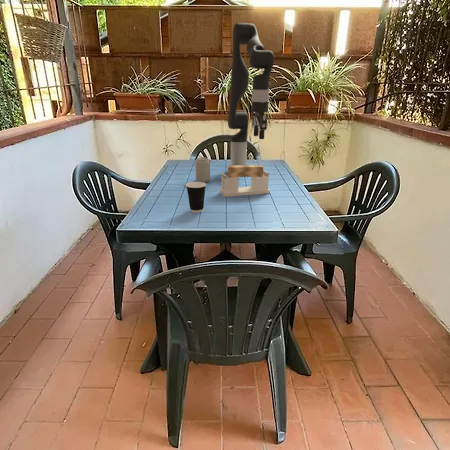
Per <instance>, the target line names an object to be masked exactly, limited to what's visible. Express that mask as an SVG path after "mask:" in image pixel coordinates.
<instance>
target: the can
mask: <svg viewBox="0 0 450 450" xmlns="http://www.w3.org/2000/svg"><path fill="white" fill-rule="evenodd" d="M194 164H195V180H196V182H203V183H208V182H210V180H211V162H210V160H209V158H208V157H197V158H196V160H195V163H194Z"/></svg>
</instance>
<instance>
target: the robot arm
mask: <svg viewBox="0 0 450 450" xmlns="http://www.w3.org/2000/svg"><path fill="white" fill-rule="evenodd" d="M241 45H246V51H247V54H248V56H249V66H250V67H251V68H253V69H255V70H256V69H257V70H259V69H261V70H263V71H262V72H261V73H259V74H255V75H254V76H253V77H252V92H251V112H252V122H251V123H252V124H251V126H252V127H253V136H254V137H258V139H259V140H264V139H265V131H266V130H267V129H268V125H267V124H268V116H267V115H265V113H268V111H269V101H270V100H269V99H270V94H269V93H270V91H269V86H270V78H271V77H270V76H271V74H272V73H271V72H272V69H273V66H274V63H275V55H274V52H273V51H272V50H266V49H265V47H264V45H263V44H262V42H261V40H260V37H259V33H258V30H257V27H256V25H255V24H254V23H251V22H249V23H247V22H236V23H234V25H233V29H232V61H231V63H232V64H231V73H230V74H231V76H230V93H229V94H230V97H229V98H230V99H229V107H228V116H227V125H228V128H229V129H230V130H239V131H238V132H237V133H235V134H233V135H231V136H230V166H234V165H247V162H248V161H247V159H248V157H247V155H248V151H247V150H248V149H247V148H248V131H249V130H248V129H249V114H248V112H246V111H237V108H238V105H239V102H240V101H241V99H242V98H243V96H244V95H245V94H246V92H247V91H248V88H249V79H250V72H249V69H248V67H247V64H246V63H245V61H244V58H243V56H242V53H241Z"/></svg>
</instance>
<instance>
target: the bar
mask: <svg viewBox="0 0 450 450" xmlns="http://www.w3.org/2000/svg"><path fill="white" fill-rule="evenodd" d="M263 170H264V166H263V165H262V164H250V165H249V164H248V165H234V166H231V165H227V175H228V177H238V178H251V177H263Z"/></svg>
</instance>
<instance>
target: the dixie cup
mask: <svg viewBox="0 0 450 450" xmlns="http://www.w3.org/2000/svg"><path fill="white" fill-rule="evenodd" d="M185 186H186V190H187V191H186V192H187V197H188V203H189V210H190V211H191V212H192V213H194V214H195V213H202V212H203V210H204V205H205V195H206V186H207V183H206V182H198V181H190V182H187V183H185Z"/></svg>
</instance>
